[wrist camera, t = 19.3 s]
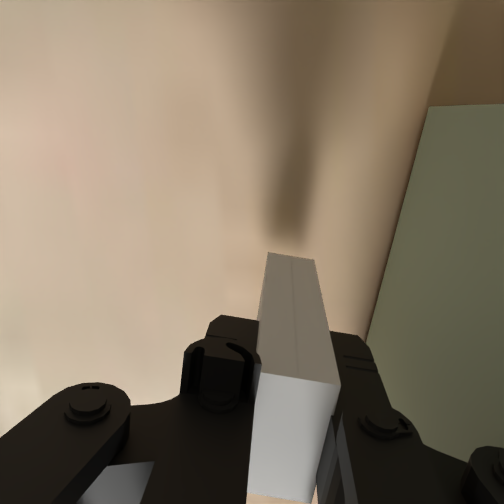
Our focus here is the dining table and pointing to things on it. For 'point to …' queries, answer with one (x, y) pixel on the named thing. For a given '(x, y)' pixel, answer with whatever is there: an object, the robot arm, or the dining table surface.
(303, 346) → the robot arm
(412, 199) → the tray
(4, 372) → the dining table surface
